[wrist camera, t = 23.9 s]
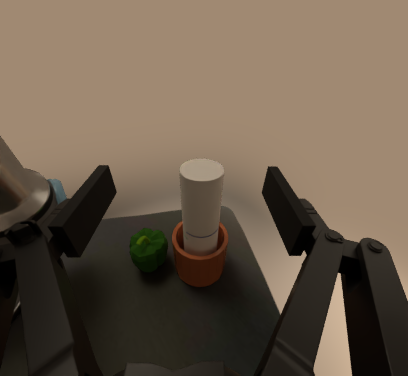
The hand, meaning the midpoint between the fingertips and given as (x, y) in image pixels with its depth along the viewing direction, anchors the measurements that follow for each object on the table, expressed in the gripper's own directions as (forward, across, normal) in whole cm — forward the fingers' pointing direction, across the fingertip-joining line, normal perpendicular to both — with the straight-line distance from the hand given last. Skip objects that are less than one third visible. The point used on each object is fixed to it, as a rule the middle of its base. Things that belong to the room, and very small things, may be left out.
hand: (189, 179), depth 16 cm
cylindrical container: (+13, +1, -32) cm, 34 cm away
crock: (+13, +1, -33) cm, 35 cm away
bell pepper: (+14, -10, -33) cm, 37 cm away
